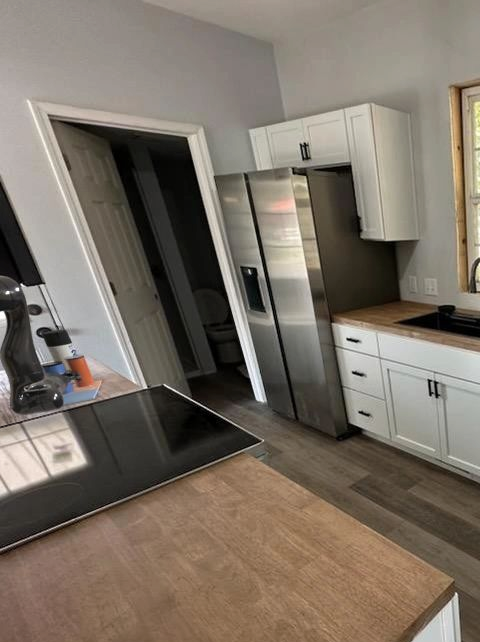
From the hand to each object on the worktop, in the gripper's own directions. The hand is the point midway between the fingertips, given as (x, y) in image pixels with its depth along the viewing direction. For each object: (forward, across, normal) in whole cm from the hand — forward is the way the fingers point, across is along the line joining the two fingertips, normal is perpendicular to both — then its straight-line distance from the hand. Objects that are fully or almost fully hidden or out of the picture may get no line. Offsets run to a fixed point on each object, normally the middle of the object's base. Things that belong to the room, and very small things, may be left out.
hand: (58, 374), depth 146 cm
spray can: (+14, -1, +7) cm, 16 cm away
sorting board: (-6, -2, +7) cm, 9 cm away
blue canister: (-3, 0, +6) cm, 7 cm away
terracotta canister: (+3, -5, +6) cm, 9 cm away
